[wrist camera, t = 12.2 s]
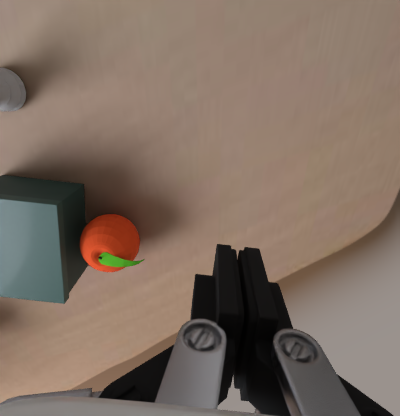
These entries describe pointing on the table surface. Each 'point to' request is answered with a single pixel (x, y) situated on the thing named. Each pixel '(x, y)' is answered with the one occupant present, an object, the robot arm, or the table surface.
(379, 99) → the table surface
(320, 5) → the table surface
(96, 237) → the clementine
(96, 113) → the table surface
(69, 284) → the box
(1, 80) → the rook chess piece
